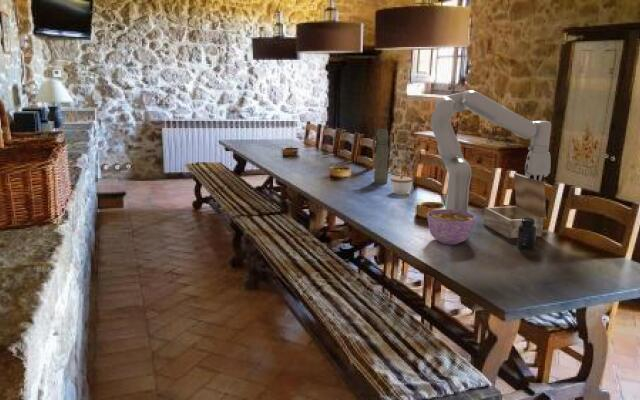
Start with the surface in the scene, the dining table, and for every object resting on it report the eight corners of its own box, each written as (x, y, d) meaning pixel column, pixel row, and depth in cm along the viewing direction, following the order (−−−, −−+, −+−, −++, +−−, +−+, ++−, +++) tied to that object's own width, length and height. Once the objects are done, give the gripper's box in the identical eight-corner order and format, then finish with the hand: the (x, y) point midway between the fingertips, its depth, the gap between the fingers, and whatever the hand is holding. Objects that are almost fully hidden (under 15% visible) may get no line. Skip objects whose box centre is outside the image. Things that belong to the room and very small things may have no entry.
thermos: (392, 183, 329) (393, 129, 321) (376, 184, 325) (377, 130, 316) (385, 180, 337) (387, 128, 329) (369, 181, 333) (371, 128, 324)
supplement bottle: (519, 243, 211) (522, 215, 208) (536, 246, 207) (539, 218, 204) (514, 247, 206) (517, 219, 203) (531, 251, 202) (534, 222, 199)
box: (507, 238, 218) (509, 220, 216) (483, 223, 239) (484, 207, 237) (541, 236, 220) (543, 218, 218) (514, 222, 241) (516, 206, 239)
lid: (541, 183, 214) (544, 182, 214) (513, 173, 235) (516, 173, 235) (543, 218, 218) (546, 217, 219) (516, 206, 239) (518, 205, 240)
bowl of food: (438, 231, 227) (439, 206, 224) (481, 240, 215) (483, 214, 212) (416, 242, 212) (418, 216, 209) (461, 252, 200) (463, 224, 197)
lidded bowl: (413, 195, 295) (414, 177, 292) (391, 195, 295) (392, 177, 292) (409, 191, 307) (410, 173, 304) (389, 190, 307) (389, 173, 304)
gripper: (528, 150, 217) (524, 192, 222) (559, 150, 220) (554, 190, 224) (519, 148, 225) (515, 188, 229) (549, 147, 227) (544, 187, 232)
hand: (534, 189), depth 227 cm, fingers closed
